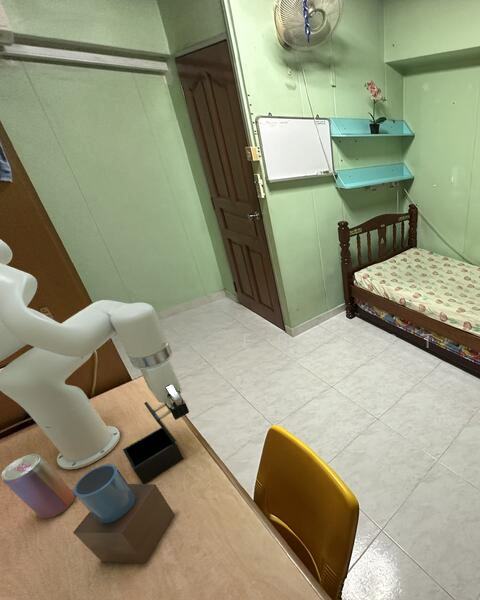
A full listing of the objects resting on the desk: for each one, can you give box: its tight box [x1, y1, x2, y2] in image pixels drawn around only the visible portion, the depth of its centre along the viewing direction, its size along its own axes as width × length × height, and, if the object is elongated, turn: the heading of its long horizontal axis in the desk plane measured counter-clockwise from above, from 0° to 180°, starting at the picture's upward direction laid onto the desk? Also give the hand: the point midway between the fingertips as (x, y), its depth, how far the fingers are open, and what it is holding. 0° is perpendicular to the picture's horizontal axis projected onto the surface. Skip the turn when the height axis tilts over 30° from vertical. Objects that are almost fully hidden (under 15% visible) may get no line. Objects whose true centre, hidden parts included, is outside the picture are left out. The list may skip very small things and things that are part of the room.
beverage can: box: [0, 453, 75, 519], centre depth 68 cm, size 6×6×15 cm
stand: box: [72, 483, 176, 564], centre depth 64 cm, size 9×9×12 cm
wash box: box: [122, 426, 185, 484], centre depth 80 cm, size 9×8×6 cm
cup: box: [73, 463, 136, 523], centre depth 59 cm, size 6×6×9 cm
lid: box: [143, 400, 177, 443], centre depth 80 cm, size 10×8×4 cm
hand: (174, 405), depth 80 cm, fingers open, 9 cm apart
